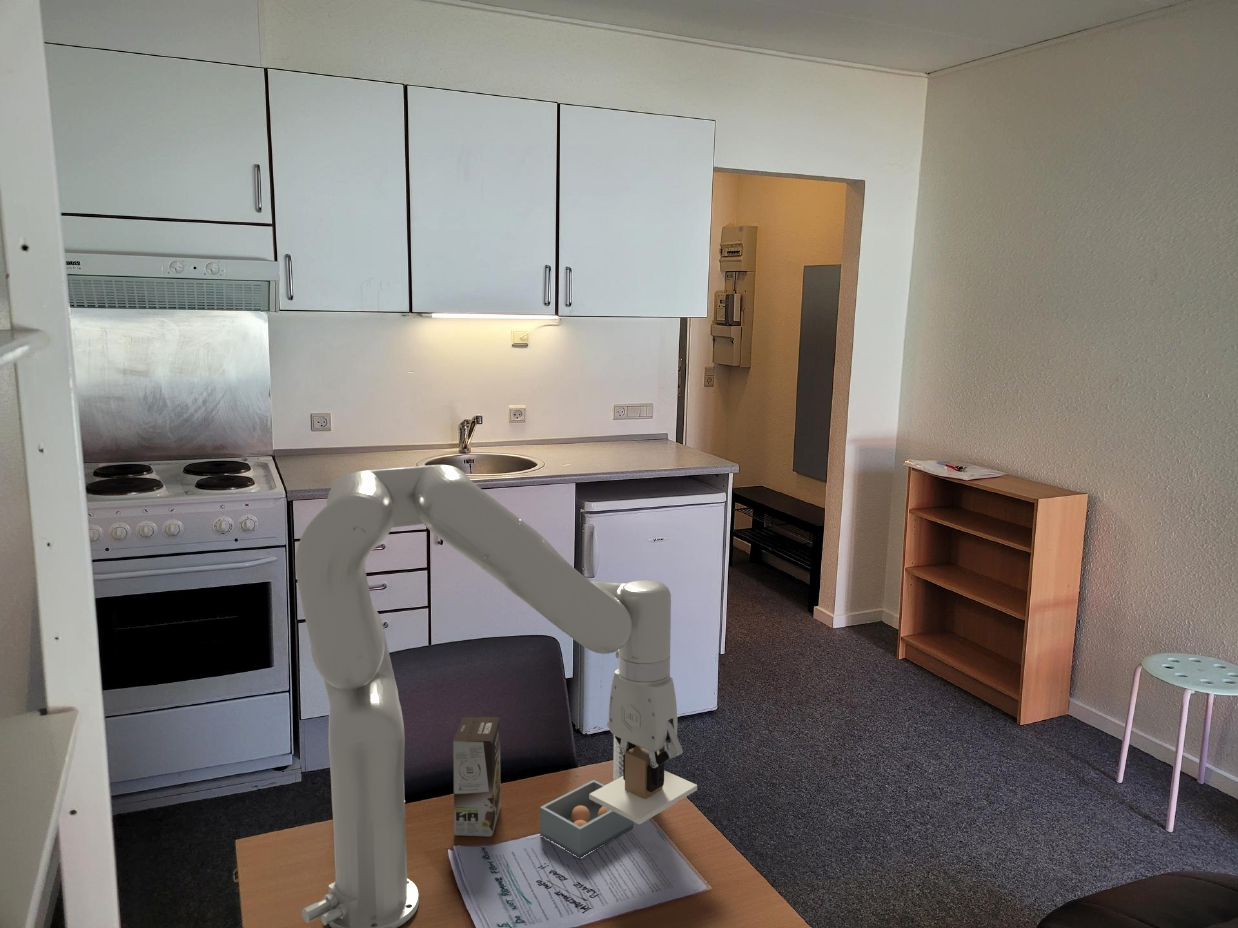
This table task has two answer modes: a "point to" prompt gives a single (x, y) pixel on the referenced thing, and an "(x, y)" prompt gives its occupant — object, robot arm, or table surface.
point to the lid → (641, 790)
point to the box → (589, 835)
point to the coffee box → (476, 776)
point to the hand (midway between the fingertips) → (643, 781)
